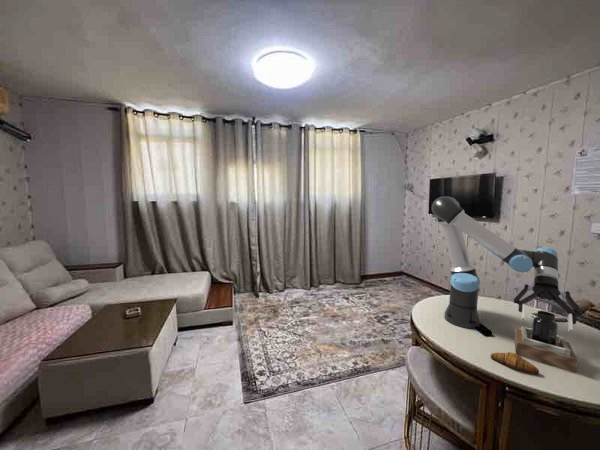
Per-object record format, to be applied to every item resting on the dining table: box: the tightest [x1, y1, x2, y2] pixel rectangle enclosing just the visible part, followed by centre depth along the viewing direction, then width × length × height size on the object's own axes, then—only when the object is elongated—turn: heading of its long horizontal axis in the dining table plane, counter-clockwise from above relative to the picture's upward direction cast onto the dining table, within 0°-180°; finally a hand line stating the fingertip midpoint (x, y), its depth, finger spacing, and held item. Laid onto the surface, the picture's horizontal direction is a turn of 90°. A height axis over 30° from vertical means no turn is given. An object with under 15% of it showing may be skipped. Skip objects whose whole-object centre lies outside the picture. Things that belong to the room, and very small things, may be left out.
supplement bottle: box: [531, 310, 559, 346], centre depth 95 cm, size 7×7×12 cm
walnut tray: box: [513, 325, 579, 374], centre depth 96 cm, size 16×14×7 cm
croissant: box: [490, 351, 540, 375], centre depth 89 cm, size 14×7×5 cm, turn 48°
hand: (545, 324), depth 98 cm, fingers open, 13 cm apart
